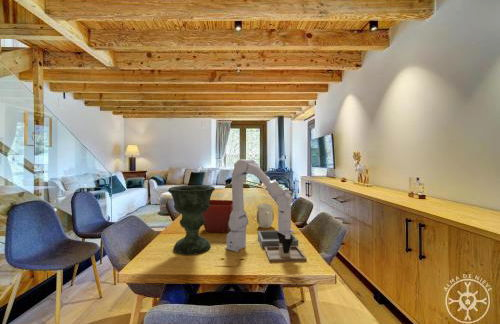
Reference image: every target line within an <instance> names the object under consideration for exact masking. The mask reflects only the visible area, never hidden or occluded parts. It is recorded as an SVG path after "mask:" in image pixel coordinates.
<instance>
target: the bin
mask: <svg viewBox="0 0 500 324" xmlns="http://www.w3.org/2000/svg"><path fill="white" fill-rule="evenodd" d="M277 231H278V230H257V241H258V242H259V244H260V246H261V248H262V249H265V247H271V246H279V243H280V242H279V237H278V235H277V233H276V232H277ZM292 237H293V241H292V243H291V246H298V247H299V239H298V238H297V237H296V236H295V235H294V232H291V234H290V238H292Z"/></svg>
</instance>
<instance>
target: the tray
mask: <svg viewBox="0 0 500 324" xmlns="http://www.w3.org/2000/svg"><path fill="white" fill-rule="evenodd" d="M264 252H265V254H266V257H267V260H268V262H269V263H291V262H295V263H296V262H297V263H298V262H307V261H308V260H307V257H306V256H305V254H304V253H303V251H302V250H301V248H300V247H299V245H298V246H290V256H289V257H280V255H279V246H271V247H265V248H264Z"/></svg>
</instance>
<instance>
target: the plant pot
mask: <svg viewBox="0 0 500 324" xmlns="http://www.w3.org/2000/svg"><path fill="white" fill-rule="evenodd" d="M209 204H210V207H209V209H208V210H207V211H205V212H203V214H202V217H203V219H204V220H205V222H204V224H203V228H204V230H205V232H208V233H227V232H228V231H229V229H230V228H229V225H228V222H229V220H230V214H231V213H232V211H233V201H232V199H230V200H227V199H210V202H209Z"/></svg>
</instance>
